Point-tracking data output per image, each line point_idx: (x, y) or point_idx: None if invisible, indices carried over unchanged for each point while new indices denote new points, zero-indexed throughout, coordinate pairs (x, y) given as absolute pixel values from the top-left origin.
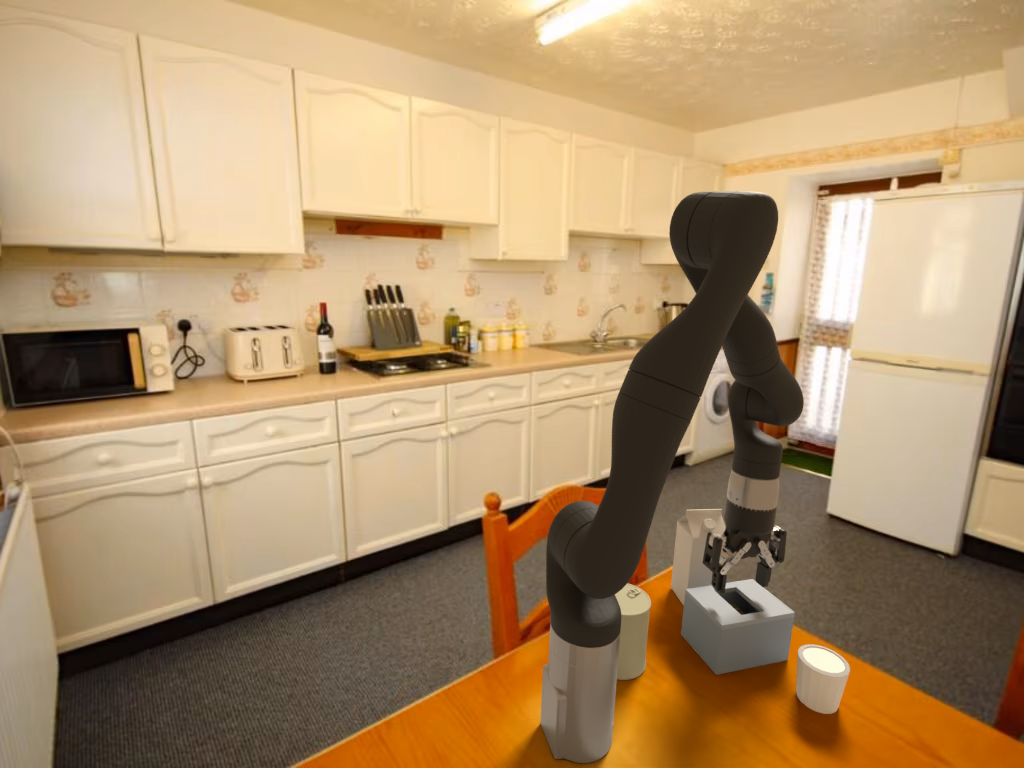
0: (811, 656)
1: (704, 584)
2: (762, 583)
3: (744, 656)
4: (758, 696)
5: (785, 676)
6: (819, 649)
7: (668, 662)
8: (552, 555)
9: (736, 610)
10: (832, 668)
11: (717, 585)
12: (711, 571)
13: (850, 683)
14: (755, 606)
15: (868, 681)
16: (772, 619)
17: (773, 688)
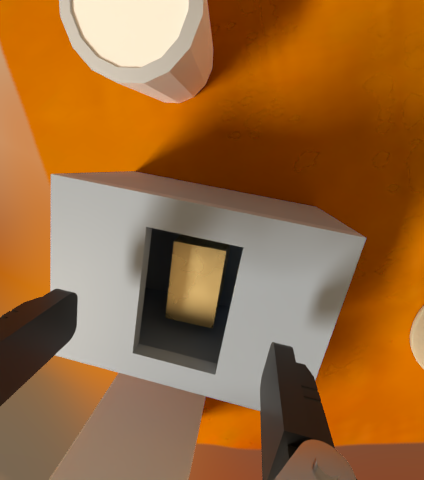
0: (151, 28)
1: (159, 401)
2: (67, 306)
3: (247, 196)
4: (286, 119)
5: (179, 138)
6: (98, 45)
7: (379, 278)
8: None
9: (180, 294)
10: None
11: (315, 387)
12: (129, 429)
13: (66, 62)
14: (146, 263)
15: (26, 50)
16: (147, 191)
17: (234, 123)
